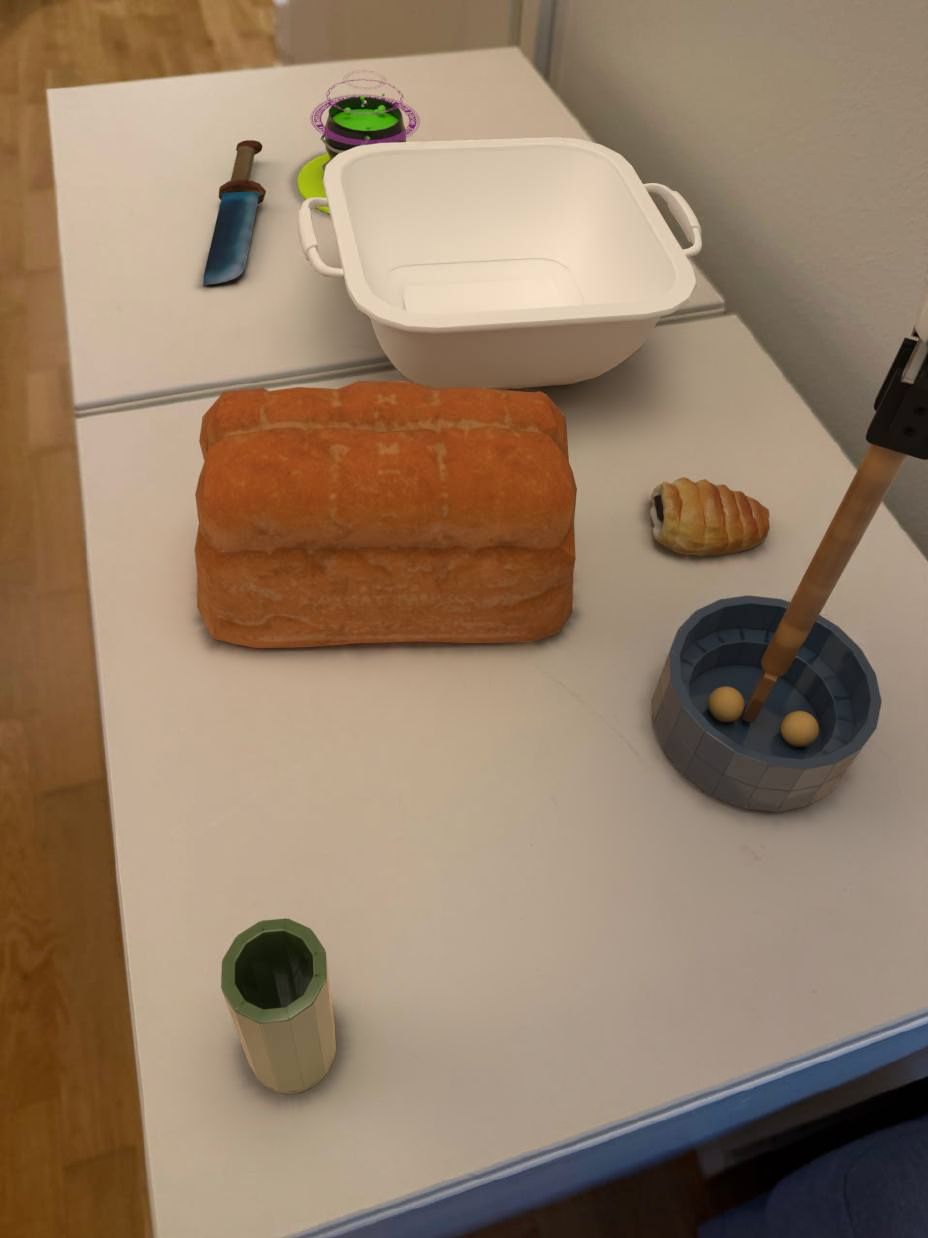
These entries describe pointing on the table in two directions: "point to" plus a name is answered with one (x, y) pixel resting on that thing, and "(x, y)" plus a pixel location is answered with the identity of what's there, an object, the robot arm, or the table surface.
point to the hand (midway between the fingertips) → (901, 430)
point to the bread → (384, 516)
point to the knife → (234, 218)
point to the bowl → (757, 752)
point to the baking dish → (503, 257)
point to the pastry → (706, 518)
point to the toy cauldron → (353, 132)
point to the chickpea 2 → (799, 729)
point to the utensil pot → (281, 1003)
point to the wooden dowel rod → (825, 568)
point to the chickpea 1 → (726, 704)
